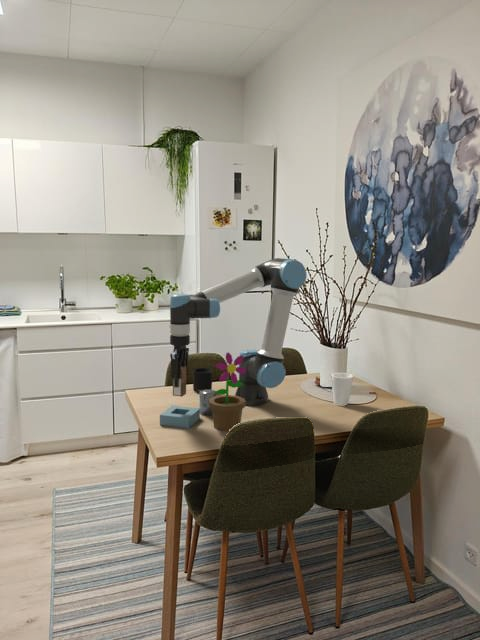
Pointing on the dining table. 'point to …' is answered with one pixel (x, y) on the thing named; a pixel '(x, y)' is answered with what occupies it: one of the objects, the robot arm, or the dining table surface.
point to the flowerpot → (228, 397)
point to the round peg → (206, 401)
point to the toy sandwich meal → (317, 380)
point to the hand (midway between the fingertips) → (179, 393)
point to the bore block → (180, 416)
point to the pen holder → (202, 379)
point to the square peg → (182, 381)
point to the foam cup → (341, 388)
